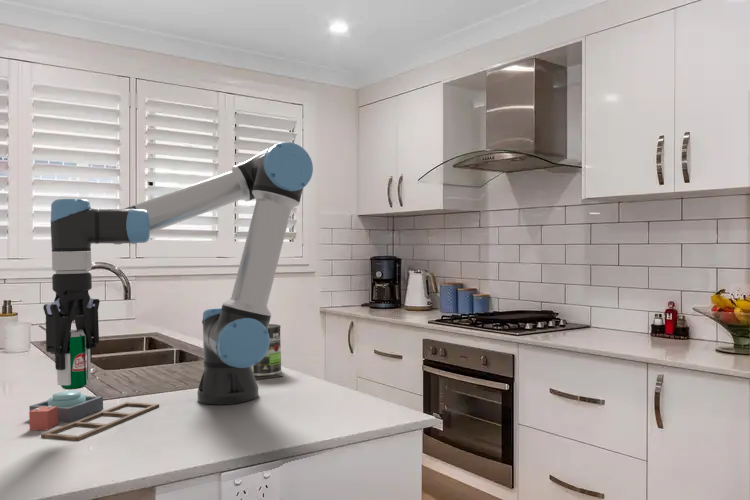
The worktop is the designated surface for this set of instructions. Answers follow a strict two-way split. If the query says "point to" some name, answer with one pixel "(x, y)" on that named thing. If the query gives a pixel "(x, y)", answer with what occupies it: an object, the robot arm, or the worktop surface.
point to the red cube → (43, 418)
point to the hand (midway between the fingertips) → (74, 381)
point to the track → (99, 426)
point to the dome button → (66, 399)
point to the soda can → (77, 359)
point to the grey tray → (75, 408)
